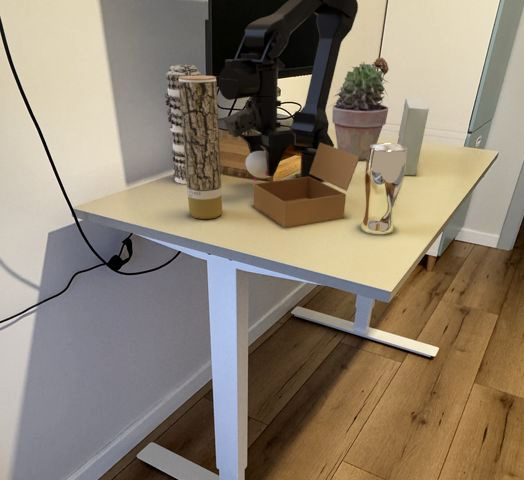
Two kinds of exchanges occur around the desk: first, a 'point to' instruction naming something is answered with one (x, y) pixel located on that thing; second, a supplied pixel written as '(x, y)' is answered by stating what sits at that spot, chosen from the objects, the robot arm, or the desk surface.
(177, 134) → the decorative candle
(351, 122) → the potted plant
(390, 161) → the beer glass
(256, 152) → the stress ball
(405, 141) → the skincare box
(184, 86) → the paper tube
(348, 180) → the flap
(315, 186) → the carton
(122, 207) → the desk surface
